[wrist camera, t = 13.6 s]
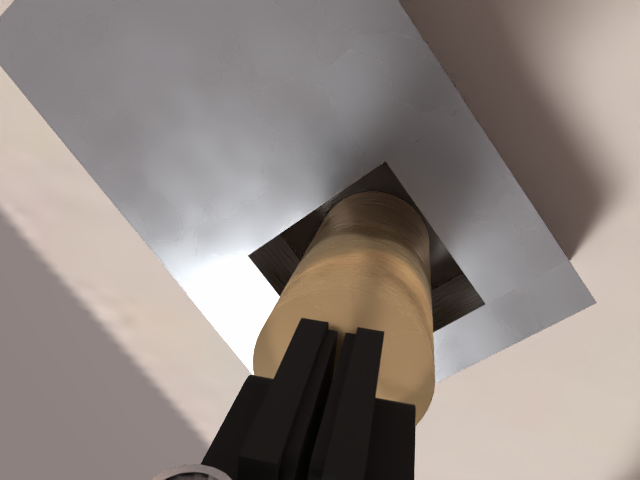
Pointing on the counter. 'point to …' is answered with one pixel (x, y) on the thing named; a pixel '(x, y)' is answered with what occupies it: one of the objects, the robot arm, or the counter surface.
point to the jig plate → (285, 150)
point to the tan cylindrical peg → (364, 294)
